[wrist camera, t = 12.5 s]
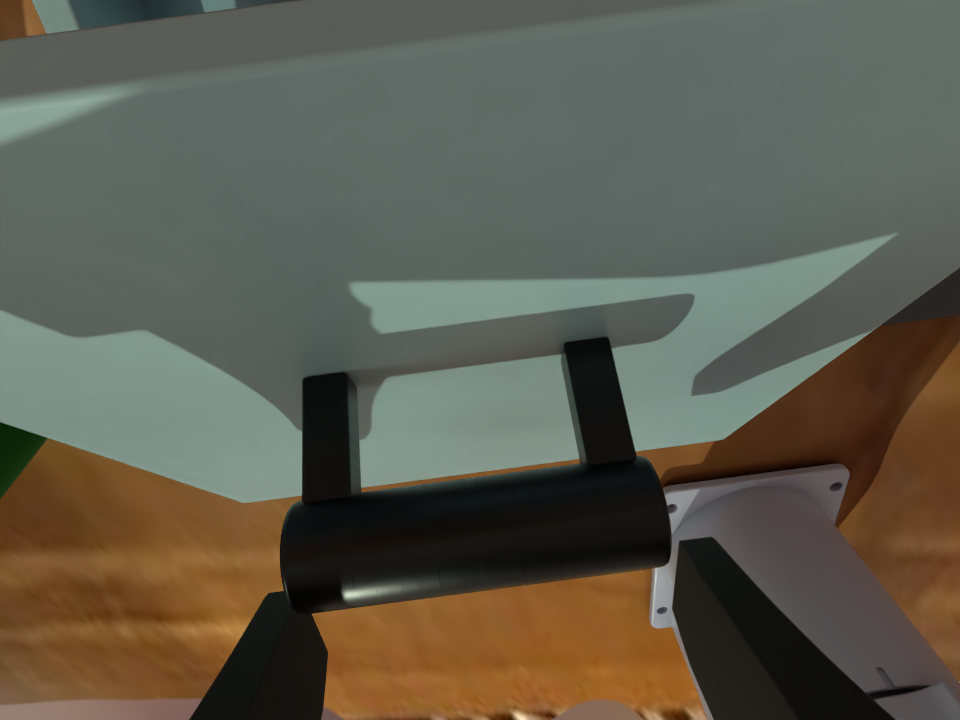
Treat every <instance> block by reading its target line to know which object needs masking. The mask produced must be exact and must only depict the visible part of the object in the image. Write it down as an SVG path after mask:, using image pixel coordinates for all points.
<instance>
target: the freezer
mask: <svg viewBox="0 0 960 720" xmlns="http://www.w3.org/2000/svg"><path fill="white" fill-rule="evenodd" d="M286 1H293V0H32V2H33V4H34V6H35V8H36V11H37V13H38V15H39V17H40V19H41V22H42V24H43V26H44V28H45V31H46V33H47V34H50V33H57V32H65V31H72V30H79V29H87V28H94V27H102V26H109V25H116V24H124V23H131V22H138V21H146V20H153V19H161V18H168V17H175V16H183V15H190V14H197V13H205V12H212V11H220V10H227V9H234V8H242V7H249V6H257V5H264V4H271V3H279V2H286Z"/></svg>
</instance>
